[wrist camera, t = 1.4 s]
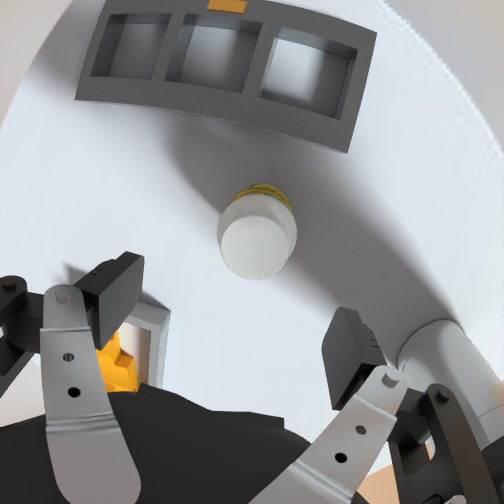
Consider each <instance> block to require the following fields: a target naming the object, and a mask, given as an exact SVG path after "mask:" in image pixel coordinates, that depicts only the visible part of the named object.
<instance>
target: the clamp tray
mask: <svg viewBox="0 0 504 504" xmlns="http://www.w3.org/2000/svg"><path fill="white" fill-rule="evenodd" d="M170 313H171V311H169V310H166V309H163V308H159V307H156V306H153V305H150V304H147V303H144V302H141V301H139V302H138V304H137V305H136V306H135V308H134V309H133V310H132V311H131V313H130V314H129V315H128V317H127V318H126V319H125V320H124V322H127V323H129V324H132V325H135V326H138V327H141V328H143V329H146V330H149V331H151V342H150V356H149V374H148V385H150V386H154V387H157V388H160V389H162V382H163V372H164V362H165V353H166V344H167V336H168V328H169V320H170Z"/></svg>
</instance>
